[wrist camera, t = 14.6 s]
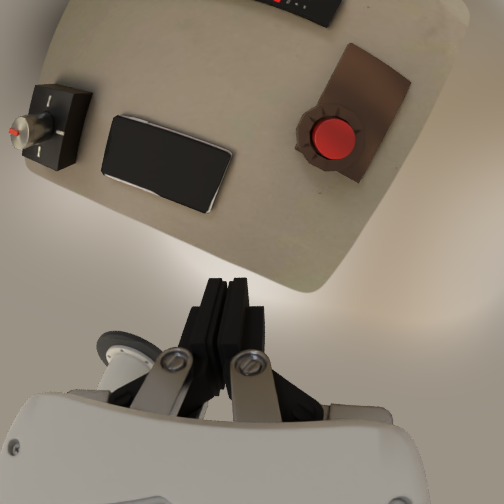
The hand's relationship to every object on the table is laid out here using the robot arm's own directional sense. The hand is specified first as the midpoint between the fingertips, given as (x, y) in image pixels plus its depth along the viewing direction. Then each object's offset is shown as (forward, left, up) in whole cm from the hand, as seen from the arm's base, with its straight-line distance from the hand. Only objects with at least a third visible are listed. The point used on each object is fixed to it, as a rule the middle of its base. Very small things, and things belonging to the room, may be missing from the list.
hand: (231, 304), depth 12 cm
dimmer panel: (+12, +25, -21) cm, 35 cm away
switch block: (+8, -11, -21) cm, 25 cm away
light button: (+5, -8, -18) cm, 21 cm away
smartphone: (+4, +11, -21) cm, 24 cm away
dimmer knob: (+12, +25, -17) cm, 32 cm away
